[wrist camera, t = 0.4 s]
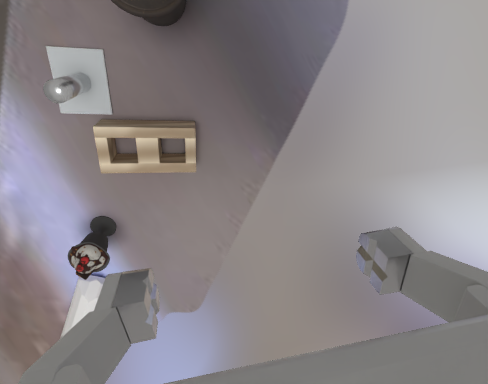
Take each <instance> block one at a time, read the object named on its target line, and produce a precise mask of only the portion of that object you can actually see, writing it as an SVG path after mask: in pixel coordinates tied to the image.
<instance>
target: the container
mask: <svg viewBox="0 0 488 384" xmlns="http://www.w3.org/2000/svg"><path fill="white" fill-rule="evenodd" d="M111 1H112V2H113V3H114V4H116V5H117V6H118V7H119V8H121V9H123V10H124V11H126V12H128V13H130V14H132V15H135V16H139V17H142V18H144V19H145V20H146V21H148V22H150V23H152V24H155V25H158V26H168V25H171V24H173V23H175V22H176V21H177V20H178V19H179V18H180V17H181V16H182V14H183V12H184V9H185V5H186V0H111Z"/></svg>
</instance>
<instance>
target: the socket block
mask: <svg viewBox="0 0 488 384" xmlns="http://www.w3.org/2000/svg"><path fill="white" fill-rule="evenodd" d="M93 130H94V136H95V141H96V147H97V152H98V158H99V163H100V169H101V173H163V172H196V137H195V121H158V120H105V119H101V120H100V121H99V122H98V123H97V124H96V125H94V126H93ZM115 138H136V146H137V154H117V150H116V143H115ZM161 138H185V150H186V154H162V148H161Z"/></svg>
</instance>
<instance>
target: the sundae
mask: <svg viewBox="0 0 488 384" xmlns="http://www.w3.org/2000/svg"><path fill="white" fill-rule="evenodd" d="M90 227H91V230H92V231H93V232H92V233H90V234H89V235H87V236H86V237H85V238H84V240H83V241H82V242H81V243H80V244H78V245H76V246H73V247H72V248H71V250H70V251H69V253H68V260H69V262H70V264H71V266H72V267H73V268H75V270H76V275H78V276H79V277H81V278H83V279H84V280H87V278H88V277H89V276H90V275H91V274H92V273H93V272H99V271H101V270H103V269H104V268H106V266H107V265H108V263H109V260H110V257H109V255H108V253H107V248H108V238H107V237H106V236H110V235H112V234H113V233H114V232H115V231H116V224H115V222H114V221H113V220H112V219H110V218H108V217H104V216H100V217H96V218H94V219H93V220H92V221H91V224H90Z"/></svg>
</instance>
